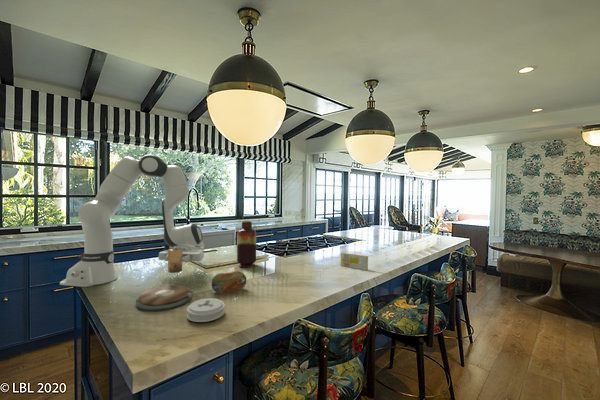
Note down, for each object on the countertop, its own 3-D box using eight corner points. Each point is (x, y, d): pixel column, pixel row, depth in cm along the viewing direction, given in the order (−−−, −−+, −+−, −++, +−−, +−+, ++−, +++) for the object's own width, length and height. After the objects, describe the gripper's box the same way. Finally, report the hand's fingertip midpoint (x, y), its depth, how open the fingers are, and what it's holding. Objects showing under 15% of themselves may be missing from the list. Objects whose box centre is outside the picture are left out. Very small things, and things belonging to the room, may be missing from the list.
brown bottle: (233, 265, 163) (233, 221, 163) (249, 262, 171) (249, 220, 170) (243, 269, 155) (243, 223, 154) (259, 265, 163) (260, 221, 162)
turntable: (128, 305, 102) (128, 301, 102) (154, 288, 120) (154, 284, 120) (181, 306, 102) (181, 302, 102) (199, 288, 120) (199, 285, 120)
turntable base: (124, 310, 101) (124, 306, 101) (153, 290, 121) (153, 287, 121) (178, 311, 101) (178, 307, 101) (198, 291, 121) (198, 288, 121)
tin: (212, 295, 117) (212, 275, 117) (210, 292, 120) (210, 273, 120) (246, 289, 124) (246, 271, 124) (244, 287, 127) (244, 269, 127)
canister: (165, 272, 125) (165, 250, 124) (171, 268, 131) (171, 247, 130) (178, 273, 125) (179, 250, 124) (184, 269, 131) (184, 248, 130)
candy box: (368, 270, 157) (368, 255, 157) (366, 271, 155) (367, 256, 155) (341, 265, 166) (342, 252, 165) (340, 266, 164) (340, 252, 163)
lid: (220, 324, 92) (220, 309, 92) (181, 325, 91) (181, 310, 91) (227, 308, 105) (227, 295, 105) (193, 309, 104) (193, 295, 104)
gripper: (166, 246, 140) (151, 252, 127) (206, 247, 140) (196, 253, 127) (166, 258, 141) (151, 265, 127) (206, 259, 141) (196, 266, 127)
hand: (174, 259), depth 127 cm, fingers closed on canister, 6 cm apart
